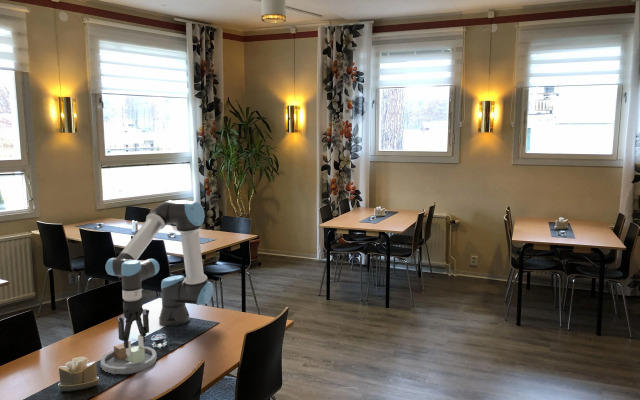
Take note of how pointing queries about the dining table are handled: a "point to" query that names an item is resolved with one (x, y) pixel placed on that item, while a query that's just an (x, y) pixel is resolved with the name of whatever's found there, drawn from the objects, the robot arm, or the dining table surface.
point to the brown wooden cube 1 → (120, 351)
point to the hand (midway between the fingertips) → (135, 352)
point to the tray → (127, 363)
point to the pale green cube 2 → (136, 355)
